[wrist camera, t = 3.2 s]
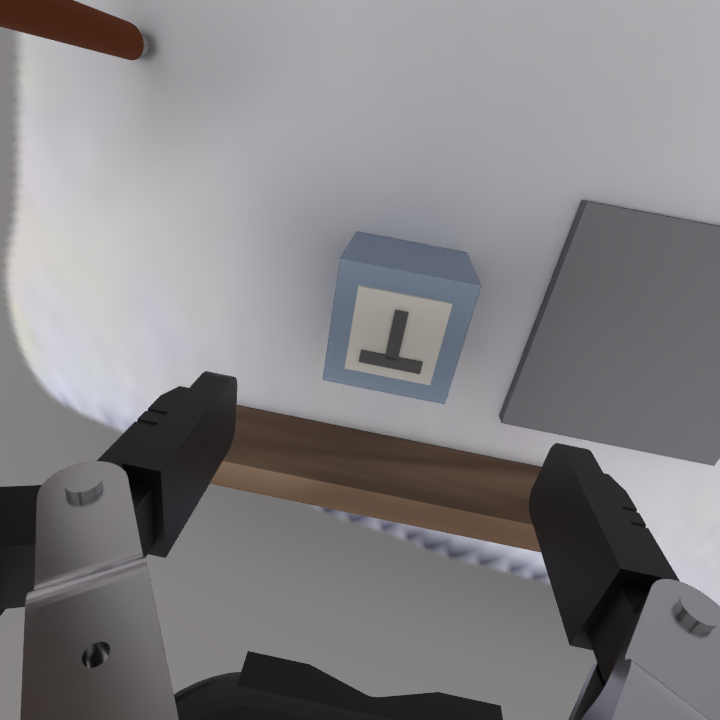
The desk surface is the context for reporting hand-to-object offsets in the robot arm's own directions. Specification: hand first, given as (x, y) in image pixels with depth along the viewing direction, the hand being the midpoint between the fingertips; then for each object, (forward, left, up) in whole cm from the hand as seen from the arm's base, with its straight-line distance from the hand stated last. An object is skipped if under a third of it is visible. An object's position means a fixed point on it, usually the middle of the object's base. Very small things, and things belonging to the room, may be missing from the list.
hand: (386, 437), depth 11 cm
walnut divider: (+9, 0, -11) cm, 14 cm away
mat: (0, +12, -11) cm, 16 cm away
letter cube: (0, 0, -11) cm, 11 cm away
